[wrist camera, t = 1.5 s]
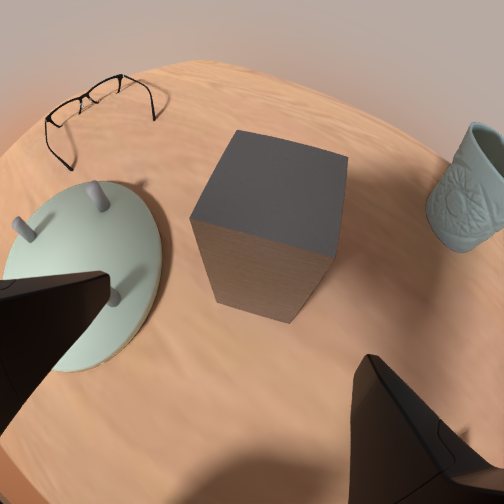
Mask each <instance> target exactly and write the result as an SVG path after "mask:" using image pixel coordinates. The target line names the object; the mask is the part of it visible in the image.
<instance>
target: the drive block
mask: <svg viewBox="0 0 504 504" xmlns="http://www.w3.org/2000/svg"><path fill="white" fill-rule="evenodd" d="M347 166H348V157H346V156H343V155H340V154H337V153H333V152H330V151H326V150H323V149H319V148H316V147H312V146H308V145H304V144H300V143H296V142H292V141H288V140H284V139H280V138H275V137H271V136H266V135H261V134H256V133H251V132H246V131H241V130H237V131H236V132H235V134H234V136H233V137H232V139H231V141H230V143H229V144H228V146H227V148H226V150H225V151H224V153H223V155H222V157H221V159H220V160H219V162H218V164H217V166H216V168H215V170H214V171H213V173H212V175H211V177H210V179H209V181H208V183H207V185H206V187H205V188H204V190H203V192H202V194H201V196H200V198H199V200H198V202H197V204H196V206H195V208H194V210H193V212H192V214H191V216H190V218H189V219H190V222H191V225H192V228H193V232H194V235H195V238H196V241H197V244H198V247H199V251H200V254H201V257H202V260H203V263H204V266H205V269H206V272H207V275H208V278H209V281H210V284H211V287H212V290H213V293H214V295H215V298H216V301H217V303H220V304H224V305H227V306H230V307H233V308H237V309H240V310H243V311H246V312H250V313H253V314H257V315H260V316H263V317H267V318H270V319H274V320H278V321H281V322H285V323H288V324H290V322H291V321H292V320H293V318H294V317H295V316H296V314H297V313H298V311H299V310H300V309H301V307H302V306H303V304H304V303H305V302H306V300H307V299H308V297H309V296H310V295H311V293H312V292H313V290H314V289H315V287H316V286H317V285H318V283H319V282H320V280H321V279H322V277H323V276H324V274H325V273H326V271H327V270H328V268H329V267H330V265H331V264H332V262H333V261H334V259H335V256H336V250H337V244H338V238H339V231H340V225H341V217H342V210H343V202H344V194H345V185H346V176H347Z"/></svg>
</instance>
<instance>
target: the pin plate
mask: <svg viewBox="0 0 504 504" xmlns="http://www.w3.org/2000/svg"><path fill="white" fill-rule="evenodd" d="M12 228H13V229H14V230H15V231H17V232H18V233H19V234H18V236H17V238H16V240H15V242H14V244H13V246H12V248H11V251H10V253H9V256H8V259H7V263H6V266H5V271H4V276H3V280H9V279H19V278H29V277H39V276H49V275H59V274H69V273H79V272H89V271H99V270H100V271H103V272H105V273H108V274H109V275H110V281H111V295H110V299H109V301H108V302H107V304H106V305H105V306H104V307H103V309H102V310H101V311H100V313H99V314H98V315H97V317H96V318H95V319H94V321H93V322H92V323H91V325H90V326H89V327H88V329H87V330H86V331H85V332H84V333H83V334H82V335H81V337H80V338H79V339H78V340H77V341H76V342H75V343H74V344H73V345H72V347H71V348H70V349H69V350H68V351H67V352H66V353H65V355H64V356H63V357H62V358H61V359H60V360H59V361H58V363H57V364H56V365H55V366H54V367H53V369H52V370H57V371H63V372H79V371H85V370H88V369H92V368H95V367H97V366H99V365H101V364H103V363H105V362H107V361H108V360H110V359H111V358H112V357H114V356H115V355H117V354H118V353H119V352H120V351H121V350H122V349H123V348H124V347H125V346H126V345H128V343H129V342H130V341H131V340H132V339H133V337H134V336H135V335H136V334H137V332H138V331H139V329H140V328H141V326H142V325H143V323H144V321H145V320H146V318H147V316H148V314H149V312H150V310H151V308H152V305H153V303H154V300H155V297H156V294H157V291H158V287H159V283H160V278H161V271H162V245H161V238H160V234H159V231H158V227H157V225H156V223H155V221H154V218H153V216H152V214H151V212H150V210H149V208H148V207H147V205H146V204H145V202H144V201H143V200H142V199H141V198H140V197H139V196H138V195H137V194H136V193H134V192H133V191H132V190H130V189H129V188H127V187H125V186H123V185H120V184H116V183H113V182H106V181H91V182H86V183H82V184H79V185H75V186H73V187H70V188H68V189H66V190H64V191H62V192H60V193H58V194H57V195H55V196H54V197H52V198H51V199H49V200H48V201H47V202H46V203H44V204H43V205H42V206H41V207H40V208H39V209H38V210H37V211H36V212H35V213H34V214H33V215H32V216H31V217H30V219H29V220H28V221H27V222H26V223H25V222H24V221H23V220H22V219H21V218H20V217H16V218H15V219H14V221H13V223H12Z"/></svg>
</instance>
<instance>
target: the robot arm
mask: <svg viewBox="0 0 504 504" xmlns="http://www.w3.org/2000/svg"><path fill="white" fill-rule="evenodd" d="M110 295H111V281H110V275H109V274H108V273H105V272H103V271H100V270H99V271H89V272H79V273H69V274H59V275H49V276H39V277H29V278H19V279H9V280H0V436H1V435H2V433H3V432H4V431H5V429H6V428H7V426H8V425H9V424H10V422H11V421H12V419H13V418H14V417H15V415H16V414H17V413H18V411H19V410H20V409H21V407H22V406H23V405H24V403H25V402H26V401H27V399H28V398H29V397H30V396H31V394H32V393H33V392H34V390H35V389H36V388H37V387H38V385H39V384H40V383H41V382H42V381H43V379H44V378H45V377H46V376H47V375H48V373H49V372H50V371H51V370H52V369H53V367H54V366H55V365H56V364H57V363H58V361H59V360H60V359H61V358H62V357H63V356H64V355H65V353H66V352H67V351H68V350H69V349H70V348H71V347H72V345H73V344H74V343H75V342H76V341H77V340H78V339H79V338H80V337H81V335H82V334H83V333H84V332H85V331H86V330H87V329H88V327H89V326H90V325H91V323H92V322H93V321H94V319H95V318H96V317H97V315H98V314H99V313H100V311H101V310H102V309H103V307H104V306H105V305H106V304H107V302H108V301H109V299H110ZM350 426H351V455H350V485H349V501H348V504H504V469H501V468H497V467H494V466H493V465H491V464H489V463H488V462H487V461H486V460H484V459H483V458H482V457H481V456H480V455H479V454H478V453H476V452H475V451H474V450H473V449H472V448H471V447H470V446H468V445H467V444H466V443H465V442H464V441H463V440H462V439H461V438H460V437H458V436H457V435H456V434H455V433H454V432H453V431H452V430H451V429H450V428H449V427H448V426H447V425H446V424H445V423H444V422H443V421H442V420H441V419H439V417H438V416H437V415H436V414H435V413H434V412H433V410H432V409H431V408H430V407H429V406H428V405H427V404H426V403H425V402H424V401H423V400H422V399H421V398H420V397H419V396H418V395H417V394H416V393H415V392H414V391H413V390H412V389H411V388H410V387H409V386H408V385H407V384H406V383H405V382H404V381H403V380H402V379H401V378H400V377H399V376H398V375H397V374H396V373H395V372H394V371H393V370H392V369H391V368H390V367H389V366H388V365H387V364H386V363H385V362H384V361H383V360H382V359H381V358H380V357H379V356H377V355H372V354H367V355H365V356H364V358H363V360H362V361H361V363H360V365H359V367H358V368H357V370H356V372H355V374H354V378H353V392H352V404H351V416H350ZM0 504H11V503H10V502H9V501H8V500H7V499H6V498H5V497H4V496H3V495H2V494H1V493H0Z"/></svg>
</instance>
